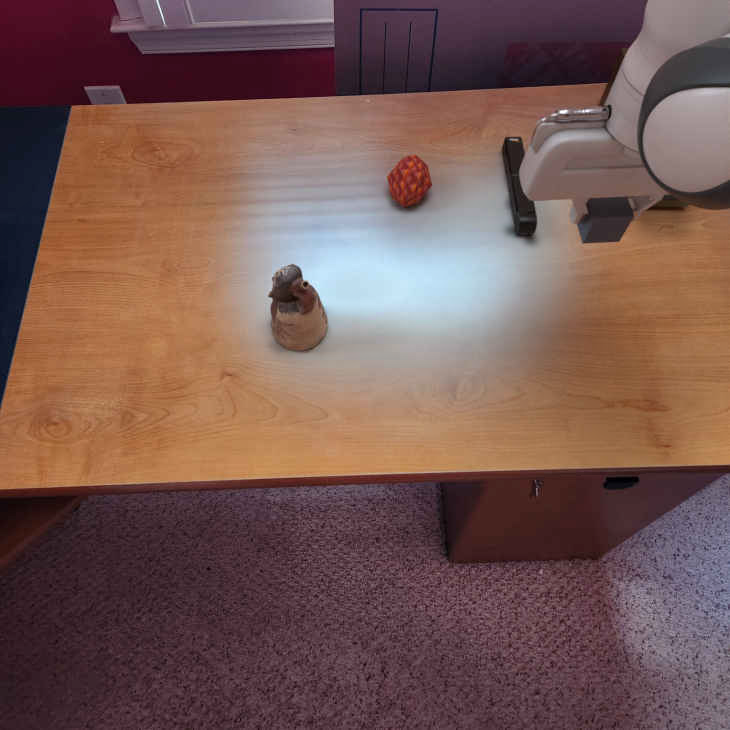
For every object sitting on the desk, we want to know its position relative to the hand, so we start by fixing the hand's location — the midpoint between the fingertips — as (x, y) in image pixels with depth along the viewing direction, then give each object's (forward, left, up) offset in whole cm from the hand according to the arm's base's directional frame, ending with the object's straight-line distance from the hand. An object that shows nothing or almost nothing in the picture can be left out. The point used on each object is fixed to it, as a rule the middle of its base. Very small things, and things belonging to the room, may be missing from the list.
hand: (602, 217), depth 61 cm
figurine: (+31, +14, -17) cm, 38 cm away
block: (0, 0, -2) cm, 2 cm away
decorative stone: (+25, -13, -18) cm, 33 cm away
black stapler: (+10, -19, -17) cm, 27 cm away
